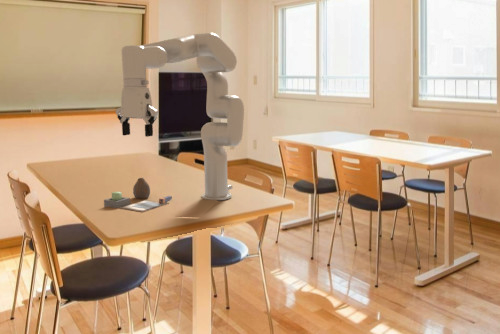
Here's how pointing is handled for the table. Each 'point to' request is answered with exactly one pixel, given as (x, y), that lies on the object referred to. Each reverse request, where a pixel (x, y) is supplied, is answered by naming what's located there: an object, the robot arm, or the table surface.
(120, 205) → the button box
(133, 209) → the picture frame
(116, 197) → the button
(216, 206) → the table surface
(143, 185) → the vase
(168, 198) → the marker
